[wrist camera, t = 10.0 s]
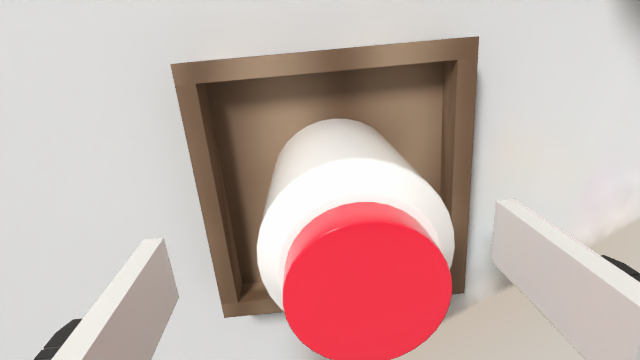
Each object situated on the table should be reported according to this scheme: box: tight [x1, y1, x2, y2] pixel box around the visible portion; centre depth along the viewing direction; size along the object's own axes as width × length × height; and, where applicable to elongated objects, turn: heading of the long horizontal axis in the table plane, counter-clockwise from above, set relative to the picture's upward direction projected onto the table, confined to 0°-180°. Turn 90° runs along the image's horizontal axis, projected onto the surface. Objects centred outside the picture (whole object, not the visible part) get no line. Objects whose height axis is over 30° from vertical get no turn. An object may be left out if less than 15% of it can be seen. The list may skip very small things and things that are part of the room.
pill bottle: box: [257, 118, 455, 360], centre depth 17 cm, size 8×8×11 cm
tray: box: [171, 37, 479, 318], centre depth 21 cm, size 15×15×2 cm
